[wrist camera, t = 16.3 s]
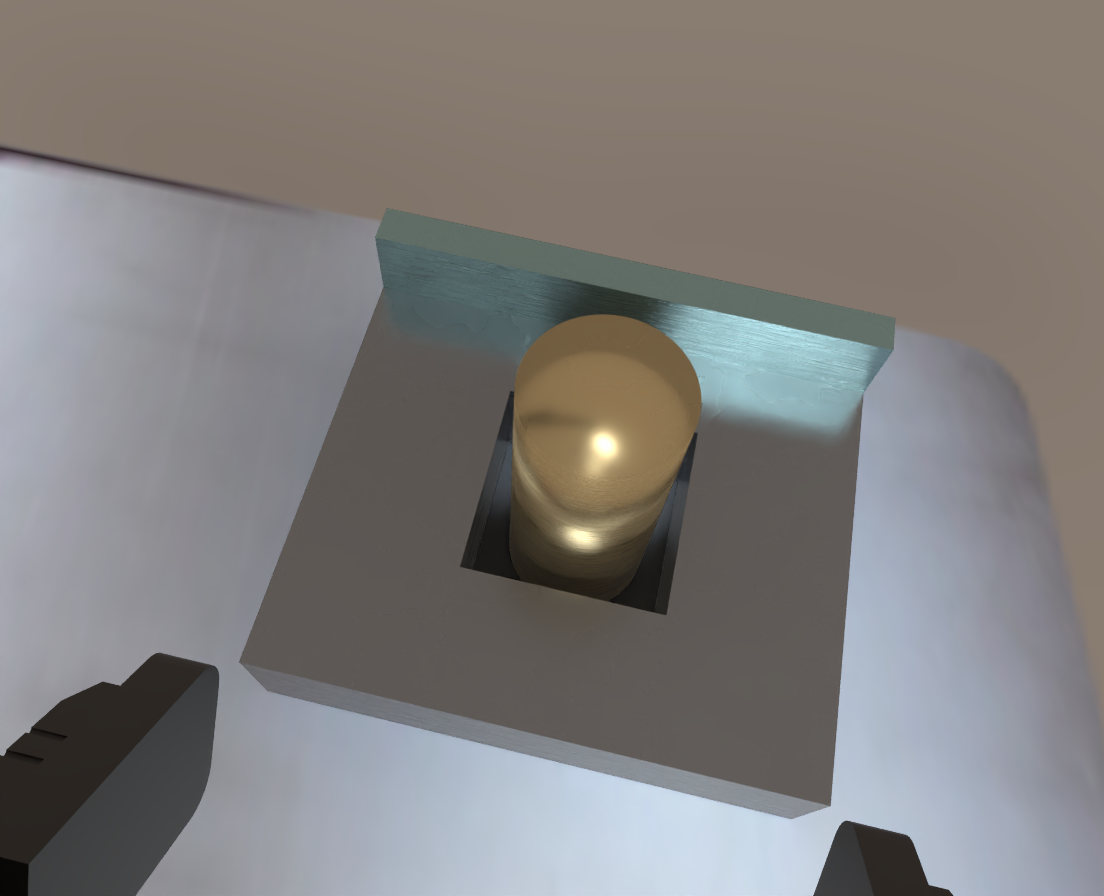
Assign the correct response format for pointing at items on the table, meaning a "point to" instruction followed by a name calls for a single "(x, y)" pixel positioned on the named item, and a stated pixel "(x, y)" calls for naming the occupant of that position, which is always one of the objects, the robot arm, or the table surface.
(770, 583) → the jig
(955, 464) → the table surface
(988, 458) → the table surface
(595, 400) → the brass cylinder
